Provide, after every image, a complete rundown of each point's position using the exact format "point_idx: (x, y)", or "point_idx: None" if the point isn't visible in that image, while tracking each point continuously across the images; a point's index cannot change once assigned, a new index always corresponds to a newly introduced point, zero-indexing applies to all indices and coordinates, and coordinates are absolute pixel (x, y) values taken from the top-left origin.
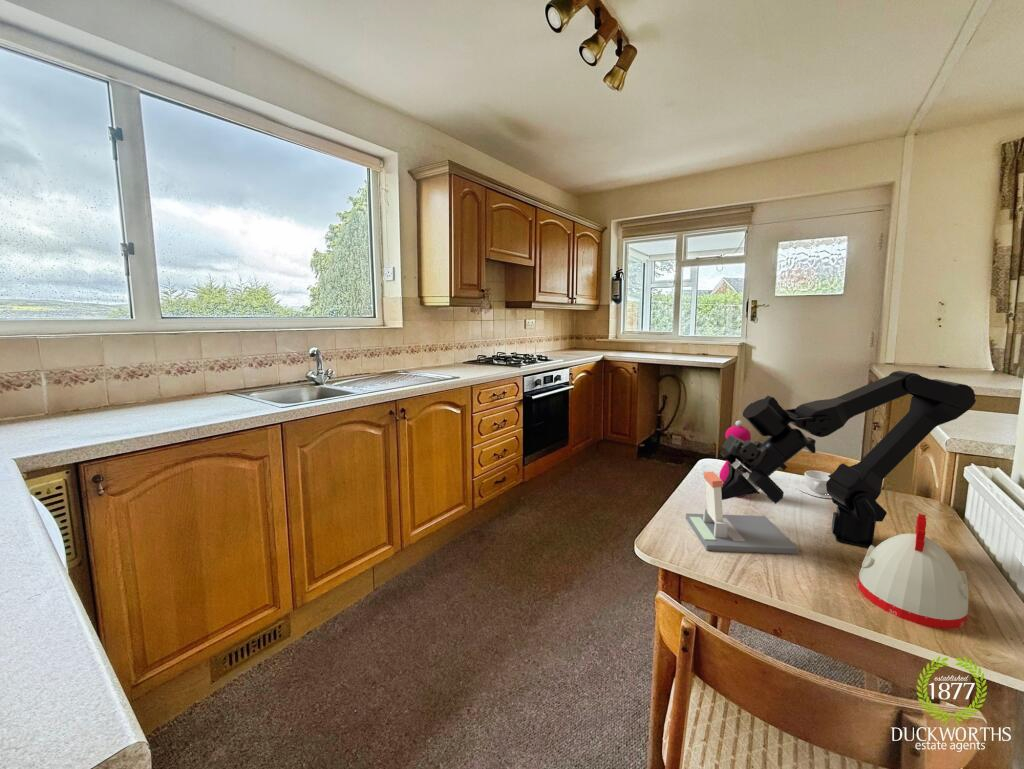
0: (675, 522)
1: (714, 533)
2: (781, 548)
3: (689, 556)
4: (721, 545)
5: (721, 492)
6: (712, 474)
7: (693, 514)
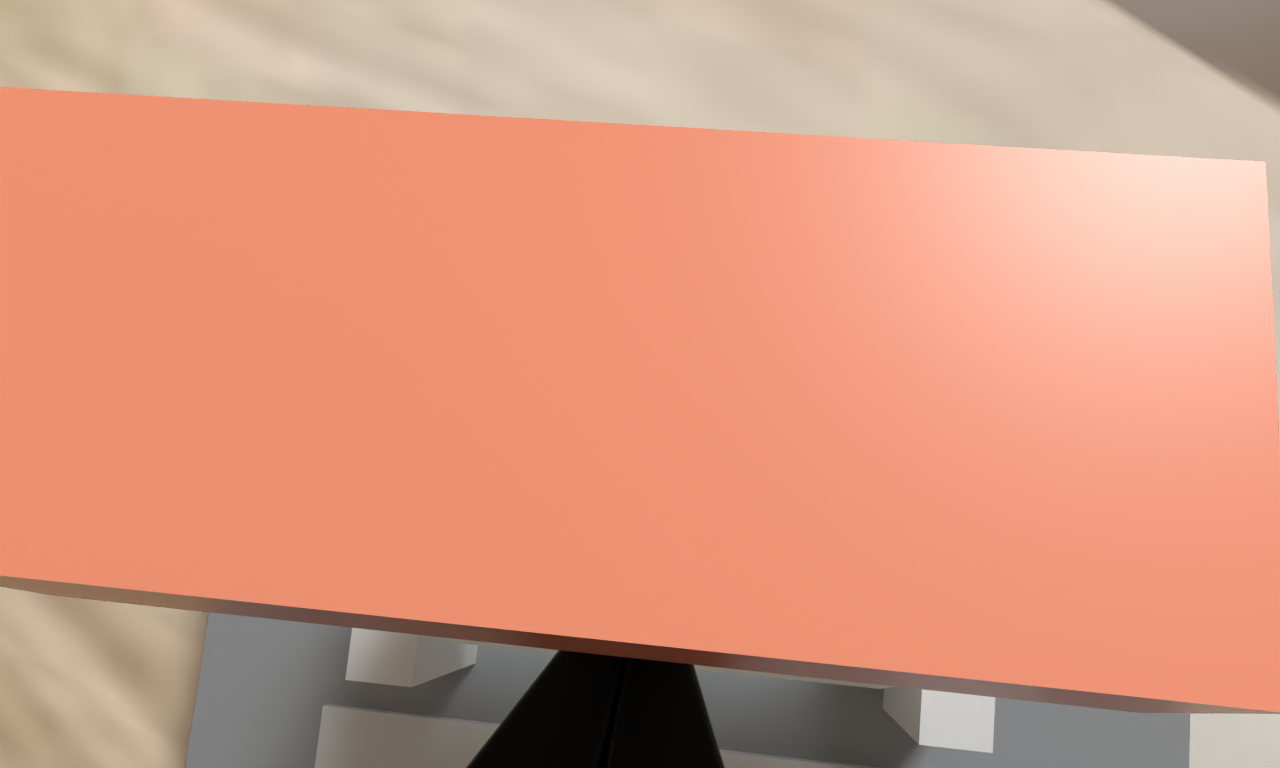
0: None
1: None
2: None
3: (190, 66)
4: None
5: (548, 740)
6: (796, 454)
7: None
